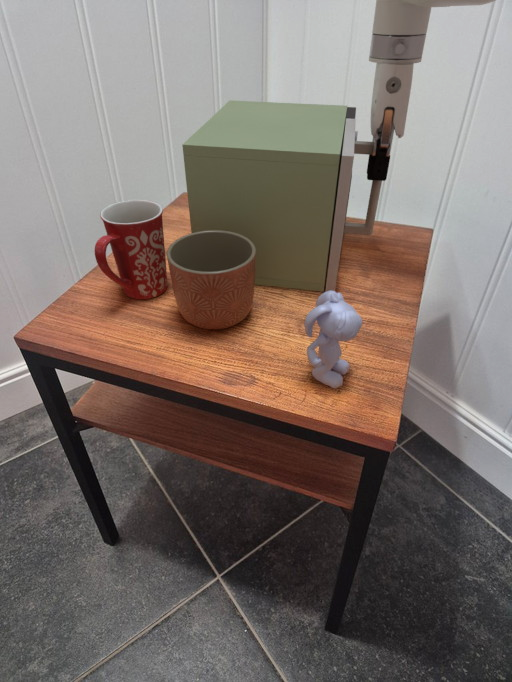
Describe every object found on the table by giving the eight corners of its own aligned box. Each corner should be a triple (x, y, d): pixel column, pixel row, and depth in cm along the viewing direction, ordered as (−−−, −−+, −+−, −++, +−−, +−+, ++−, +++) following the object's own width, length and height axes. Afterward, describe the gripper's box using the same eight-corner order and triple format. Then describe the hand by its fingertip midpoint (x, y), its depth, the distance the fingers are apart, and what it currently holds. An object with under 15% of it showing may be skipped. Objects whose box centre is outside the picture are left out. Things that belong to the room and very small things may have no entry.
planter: (208, 282, 74) (203, 222, 67) (270, 305, 69) (272, 243, 62) (159, 320, 66) (147, 256, 59) (225, 349, 61) (221, 283, 54)
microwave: (344, 220, 93) (360, 106, 79) (338, 293, 72) (358, 155, 58) (233, 211, 97) (229, 100, 82) (196, 278, 76) (182, 144, 61)
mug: (143, 268, 78) (129, 194, 69) (184, 282, 75) (174, 206, 66) (90, 303, 70) (66, 224, 61) (133, 321, 66) (114, 240, 58)
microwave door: (369, 240, 86) (391, 120, 72) (370, 296, 71) (398, 158, 57) (331, 237, 87) (346, 118, 73) (325, 291, 72) (341, 155, 58)
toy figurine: (343, 397, 54) (358, 321, 47) (295, 381, 57) (301, 306, 49) (358, 363, 59) (374, 289, 51) (314, 350, 61) (322, 276, 54)
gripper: (430, 56, 57) (402, 195, 69) (417, 44, 69) (395, 164, 81) (371, 55, 58) (353, 192, 70) (369, 43, 70) (354, 162, 82)
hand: (376, 176), depth 75 cm, fingers closed
